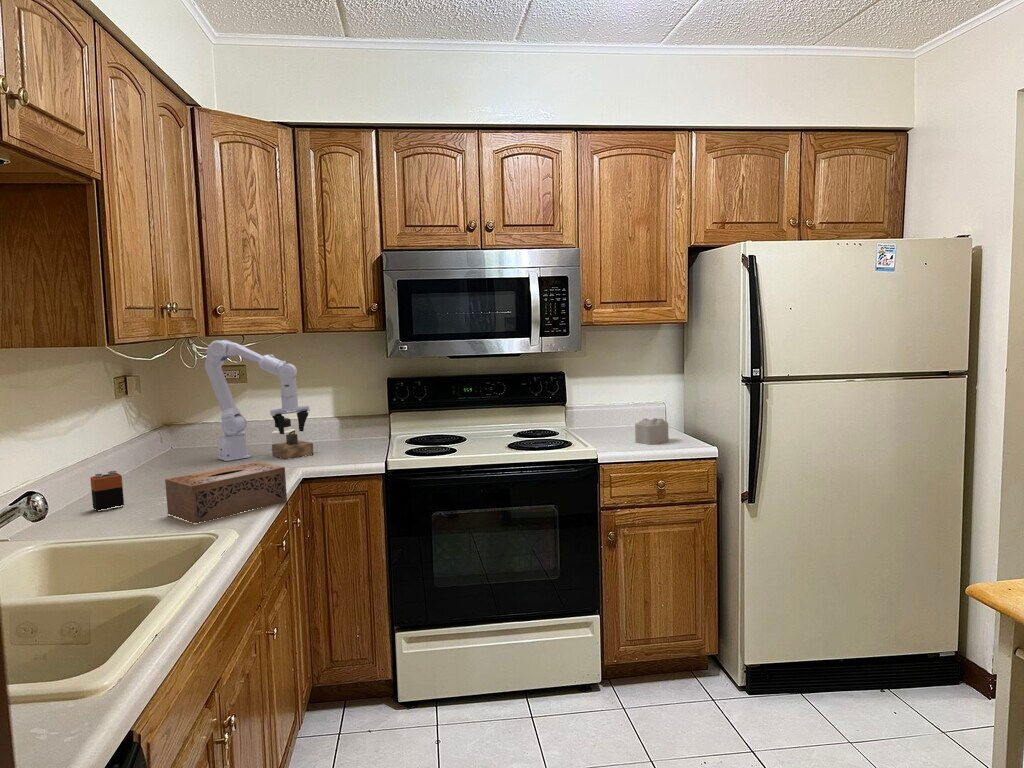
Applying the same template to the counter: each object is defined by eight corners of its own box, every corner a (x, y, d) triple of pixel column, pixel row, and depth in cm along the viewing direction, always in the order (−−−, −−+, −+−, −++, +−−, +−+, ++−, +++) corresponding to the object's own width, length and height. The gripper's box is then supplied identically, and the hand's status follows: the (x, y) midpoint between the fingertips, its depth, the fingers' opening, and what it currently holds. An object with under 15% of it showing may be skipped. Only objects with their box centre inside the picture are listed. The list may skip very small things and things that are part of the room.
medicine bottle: (290, 449, 275) (288, 419, 274) (272, 450, 275) (270, 419, 274) (296, 446, 282) (294, 416, 281) (278, 446, 282) (276, 417, 281)
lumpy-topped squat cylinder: (631, 442, 265) (631, 419, 265) (654, 438, 273) (653, 416, 273) (652, 445, 257) (652, 422, 256) (675, 441, 265) (675, 418, 264)
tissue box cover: (194, 526, 172) (191, 486, 171) (168, 517, 182) (165, 479, 181) (287, 502, 192) (284, 467, 191) (258, 495, 201) (256, 461, 200)
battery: (124, 507, 193) (121, 471, 192) (96, 512, 188) (93, 475, 187) (120, 504, 196) (117, 469, 195) (92, 509, 191) (89, 473, 190)
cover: (285, 459, 254) (284, 438, 253) (272, 455, 262) (271, 435, 261) (313, 454, 262) (312, 434, 261) (300, 451, 270) (298, 431, 269)
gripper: (275, 399, 252) (277, 436, 253) (312, 395, 262) (314, 430, 263) (266, 398, 257) (269, 434, 258) (303, 394, 267) (305, 429, 268)
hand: (291, 432), depth 261 cm, fingers open, 7 cm apart
